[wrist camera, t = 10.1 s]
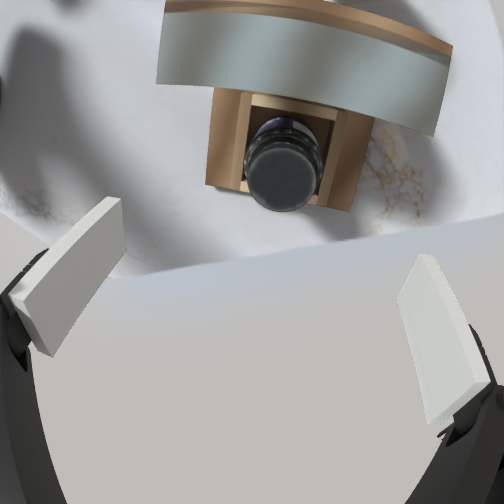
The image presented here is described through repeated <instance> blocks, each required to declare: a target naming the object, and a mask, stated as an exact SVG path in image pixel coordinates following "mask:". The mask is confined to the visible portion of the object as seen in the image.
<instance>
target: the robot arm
mask: <svg viewBox="0 0 504 504" xmlns="http://www.w3.org/2000/svg"><path fill="white" fill-rule="evenodd" d="M126 251H127V249H126V241H125V232H124V223H123V213H122V201H121V198H114V197H106V198H105V199H103V200H102V201H101V202H100V203H99V204H98V205H96V206H95V207H94V208H93V209H92V210H91V211H90V212H88V213H87V214H86V215H85V216H84V217H83V218H82V219H81V220H80V221H78V222H77V223H76V224H75V225H74V226H73V227H72V228H71V229H70V230H69V231H68V232H67V233H66V234H64V235H63V236H62V237H61V238H60V239H59V240H58V241H57V242H56V243H55V244H54V245H53V246H52V247H51V248H50V249H46V250H44V251H42V252H41V253H39V254H37V255H36V256H35V257H34V258H33V259H32V260H31V261H30V262H29V265H26V267H25V268H24V269H23V271H22V272H20V273H19V274H18V275H17V276H16V277H15V278H14V279H13V281H12V282H11V283H10V284H9V285H8V286H7V287H6V288H5V290H4V291H3V292H2V293H1V294H0V504H67V502H66V500H65V497H64V495H63V492H62V490H61V487H60V485H59V481H58V479H57V476H56V473H55V470H54V467H53V463H52V460H51V457H50V453H49V450H48V446H47V443H46V439H45V435H44V431H43V427H42V422H41V418H40V413H39V408H38V403H37V397H36V391H35V385H34V378H33V372H32V362H31V353H30V350H29V348H28V345H29V343H30V342H31V340H32V342H33V343H34V345H35V347H36V348H37V350H38V351H40V352H42V353H44V354H46V355H48V356H50V357H53V356H54V355H55V353H56V352H57V350H58V348H59V347H60V345H61V343H62V342H63V340H64V339H65V337H66V336H67V334H68V332H69V331H70V329H71V328H72V326H73V325H74V323H75V322H76V320H77V318H78V317H79V316H80V314H81V313H82V311H83V310H84V308H85V307H86V305H87V304H88V302H89V301H90V299H91V298H92V297H93V295H94V294H95V293H96V291H97V289H98V288H99V287H100V285H101V284H102V283H103V281H104V280H105V279H106V277H107V276H108V275H109V273H110V272H111V270H112V269H113V268H114V266H115V265H116V264H117V262H118V261H119V260H120V259H121V257H122V256H123V255H124V253H125V252H126ZM396 301H397V304H398V308H399V311H400V314H401V317H402V320H403V324H404V327H405V331H406V334H407V338H408V341H409V345H410V349H411V353H412V356H413V360H414V364H415V369H416V373H417V377H418V381H419V386H420V390H421V395H422V400H423V405H424V410H425V415H426V421H427V425H430V424H441V423H444V422H445V421H446V420H448V419H449V418H450V417H451V416H452V415H453V417H454V423H452V424H451V425H450V426H448V427H447V428H445V429H444V430H443V431H441V432H440V433H439V434H438V435H437V437H438V438H439V437H440V436H442V435H443V434H445V433H446V434H445V436H444V438H443V439H442V442H441V444H440V446H439V448H438V450H437V452H436V454H435V456H434V457H433V459H432V461H431V463H430V465H429V466H428V468H427V470H426V472H425V473H424V475H423V476H422V478H421V480H420V482H419V483H418V484H417V486H416V488H415V489H414V491H413V492H412V494H411V495H410V497H409V498H408V500H407V501H406V503H405V504H504V386H502V385H497V382H496V379H495V377H494V374H493V371H492V368H491V366H490V363H489V361H488V358H487V355H485V350H484V348H483V347H482V343H481V341H480V339H479V337H478V334H477V333H476V331H475V330H474V329H473V328H472V326H471V325H470V324H468V323H467V321H466V319H465V317H464V314H463V312H462V310H461V308H460V306H459V304H458V302H457V300H456V298H455V296H454V294H453V292H452V290H451V288H450V286H449V284H448V282H447V280H446V278H445V277H444V275H443V273H442V271H441V269H440V268H439V266H438V264H437V262H436V260H435V258H434V257H433V256H430V255H425V254H421V253H420V254H419V256H418V258H417V260H416V262H415V264H414V266H413V268H412V270H411V272H410V274H409V276H408V278H407V280H406V282H405V284H404V286H403V288H402V289H401V291H400V293H399V295H398V297H397V299H396Z"/></svg>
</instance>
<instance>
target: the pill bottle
mask: <svg viewBox="0 0 504 504" xmlns="http://www.w3.org/2000/svg"><path fill="white" fill-rule="evenodd" d="M244 172H245V177H246V180H247V185H248V188H249V191H250V193H251V195H252V196H253V198H254V199H255V200H256V201H257V202H258V203H259V204H260V205H262V206H263V207H265V208H267V209H269V210H272V211H276V212H289V211H293V210H296V209H298V208H300V207H302V206H304V205H305V204H306V203H307V202H308V201H309V200H310V199H311V197H312V196H313V194H314V191H315V189H316V188H317V186H318V184H319V182H320V180H321V177H322V173H323V160H322V155H321V152H320V150H319V147H318V144H317V141H316V138H315V135H314V133H313V131H312V130H311V129H310V127H309V126H308V125H307V124H306V123H305V122H304V121H302V120H300V119H298V118H295V117H290V116H279V117H275V118H273V119H270V120H269V121H267V122H266V123H265V124H264V125H263V126H262V127H261V128H260V129H259V131H258V132H257V134H256V135H255V137H254V139H253V140H252V142H251V144H250V145H249V147H248V149H247V151H246V153H245V158H244Z"/></svg>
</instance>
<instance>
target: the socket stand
mask: <svg viewBox="0 0 504 504" xmlns="http://www.w3.org/2000/svg"><path fill="white" fill-rule="evenodd" d="M452 49H453V46H452V45H450V44H448V43H446V42H444V41H442V40H440V39H438V38H436V37H433V36H431V35H429V34H427V33H424V32H422V31H420V30H417V29H415V28H412V27H410V26H407V25H405V24H402V23H400V22H397V21H394V20H391V19H388V18H385V17H383V16H379V15H376V14H373V13H370V12H367V11H363V10H360V9H356V8H353V7H349V6H345V5H341V4H337V3H332V2H328V1H323V0H166V3H165V9H164V16H163V23H162V31H161V39H160V47H159V57H158V67H157V79H156V84H169V85H194V86H209V87H214V94H213V103H212V112H211V122H210V133H209V144H208V155H207V168H206V181H205V185H210V186H217V187H223V188H229V189H232V190H238V191H244V192H249V193H250V191H249V188H248V185H247V180H246V177H245V172H244V158H245V153H246V151H247V149H248V147H249V145H250V144H251V142H252V140H253V139H254V137H255V135H256V134H257V132H258V131H259V129H260V128H261V127H262V126H263V125H264V124H265V123H266V122H267V121H269V120H270V119H273V118H275V117H279V116H290V117H295V118H298V119H300V120H302V121H304V122H305V123H306V124H307V125H308V126H309V127H310V129H311V130H312V131H313V133H314V135H315V138H316V141H317V144H318V147H319V150H320V152H321V155H322V160H323V173H322V177H321V180H320V182H319V184H318V186H317V188H316V189H315V191H314V194H313V196H312V197H311V199H310V200H309V201H308V202H307V203H308V204H312V205H317V206H322V207H329V208H334V209H338V210H343V211H347V212H349V210H350V207H351V203H352V200H353V197H354V193H355V190H356V187H357V183H358V180H359V176H360V173H361V169H362V165H363V162H364V158H365V154H366V151H367V147H368V143H369V139H370V135H371V131H372V127H373V123H374V118H375V117H376V118H379V119H383V120H386V121H389V122H392V123H395V124H398V125H401V126H404V127H407V128H410V129H413V130H415V131H418V132H421V133H424V134H426V135H429V136H431V137H433V136H434V133H435V129H436V125H437V121H438V117H439V113H440V109H441V105H442V101H443V97H444V92H445V87H446V82H447V77H448V72H449V67H450V61H451V55H452Z"/></svg>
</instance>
